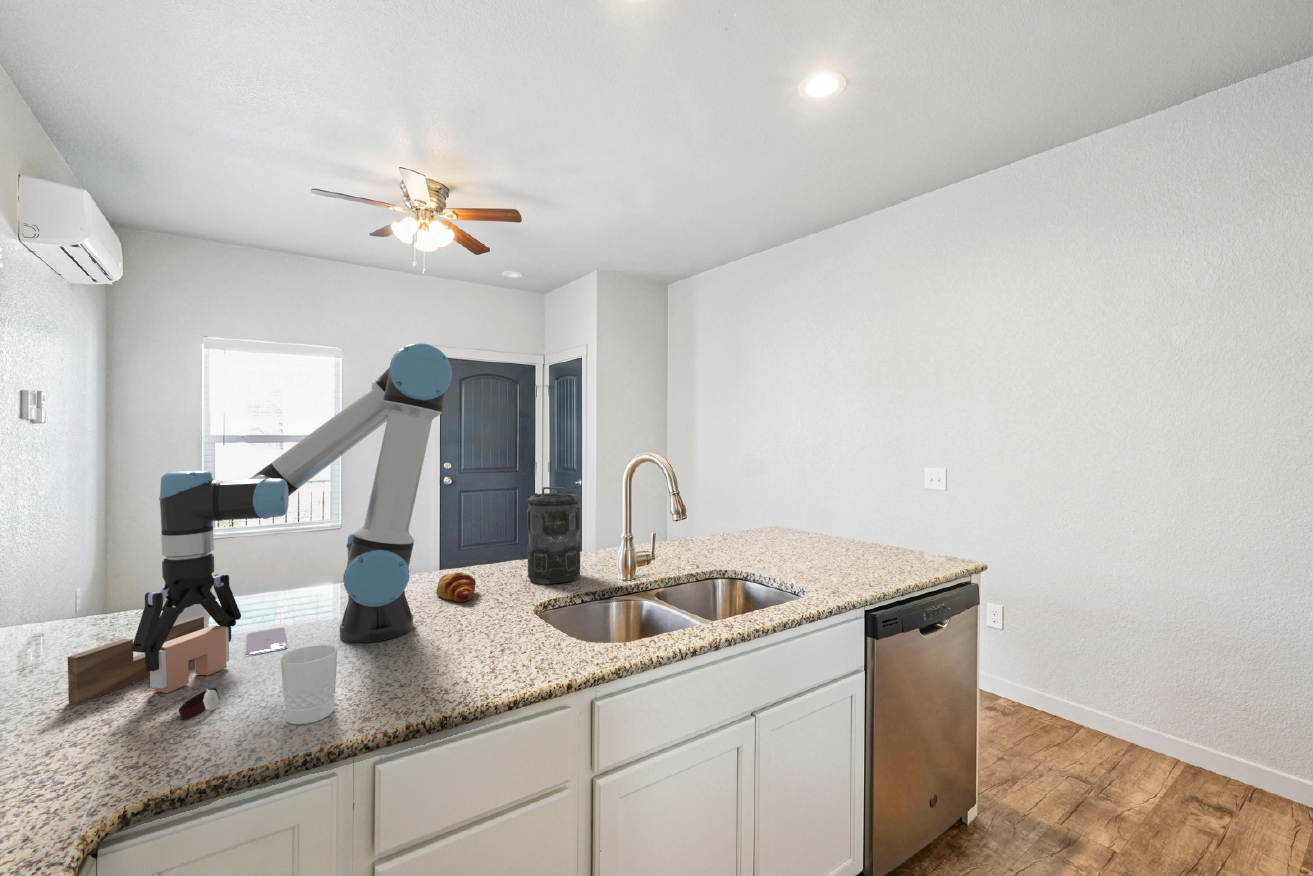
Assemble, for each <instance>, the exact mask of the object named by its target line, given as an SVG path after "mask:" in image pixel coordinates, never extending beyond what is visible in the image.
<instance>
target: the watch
mask: <svg viewBox="0 0 1313 876" xmlns="http://www.w3.org/2000/svg"><path fill="white" fill-rule="evenodd" d="M219 698H220V696H219V691H218V688H217V687H212V688H209V689H208V688H207V689H205V690H204V691H202V692H200V693H198V694H196V695H195V696H193V697H192V698H190V699H188V700H186V701H185V702H184V703H183V704H182V705H181V706H180V707H179V709H178V712H179V716H180V719H181V720H182V721H186V720H190V719H193V718H195V717H197V716H199V715H201V714H202V713H204V712H205V711H214V710H215V709H216V708H217V707H218V705H219Z"/></svg>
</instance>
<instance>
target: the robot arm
mask: <svg viewBox="0 0 1313 876" xmlns="http://www.w3.org/2000/svg"><path fill="white" fill-rule="evenodd" d="M452 379H453V369H452V366H451V363H450V360H449V359H448V357H447V356H446V354H445V353H444V352H442V350H440V349H439V348H438V347H435V346H433V345H431V344H427V343H423V342H422V343H420V342H419V343H411V344H407V345H404V346H403V347H401V348H400V349H399V350H397V351H396V352H395V354H393V357H392V358H391V360H390V365H389V367H388V368H387V369H386V370H385V371H384V372H383V373H382V374H381V375H380V376H379V377H377V378H376V379H374V380H373V381H372V383H371V388H370V389H369V390H367V392H364V394H362V395H360V397H358V398H357V399H355V400H354V401H353V402H351V403H349V405H348V406H345V408H343V409H342V410H341V411H339V412H338V413H337V414H335V415H333V417H331V418H330V419H329V420H327V421H326V422H324V423H323V424H321V426H320V427H318V428H316V429H315V430H313V431H312V432H311V433H310V434H308V435H307V436H306V437H304V438H303V439H301V440H300V441H298V442H297V443H296V444H294V445H293V446H292V447H291V448H289V449H288V450H287V451H285V452H284V453H282V454H281V455H280V456H279V457H277V458H276V459H274V461H272V462H271V463H269V464H268V465H266V466H265V467H264V468H262V469H261V470H259V471H258V472H257V473H255V474H254V475H253V476H251V477H249V478H248V479H235V480H233V479H232V480H216V479H214V478H213V476H212V472H211V471H209V470H181V471H169V472H167V473H164V474H163V475H162V476H161V477H160V489H159V491H160V492H159V494H160V495H159V498H158V500H159V506H160V507H159V508H160V509H159V510H160V524H161V525H160V526H161V528H160V530H161V531H160V532H161V556H163V557H164V558H163V559H162V560H161V569H162V570H161V571H162V574H161V575H162V576H161V577H162V579H163V580H164V585H163V586H164V589H163V590H162V589H161V590H159V591H158V590H157V591H156V592H155V591H154V592H153V591H148V592H146V593H145V594H144V608H143V611H142V615H141V618H140V621H139V623H138V627H137V630H136V633H135V636H134V639H133V645H132V649H131V650H132V651H133V653H142V654H144V653H145V662H146V663H145V664H146V670H147V671H150V677H149V684H150V685H149V688H153V689H154V688H161V689H163V688H165V687H167V676H166V650H160V649H161V648H162V646H163V644H164V642H165V640H166V638H167V636H168V634H169V633H170V631H171V629H172V627H173V625H174V623H175V621H176V619H177V618H178V616H179V614H181V613H182V612H183V611H184V609H185V608H188V607H190V606H192V605H194V604H201V605H202V606H203V608H204V609H205V610H206V611H207V612H208V613H209V615H210V618H212V619H213V621H214V622H215V623H216V624H217V626H225V631H226V663H227V662H229V661H230V642H231V640H232V627H235V626H236V624H237V620H238V621H239V620H240V619H241V618H242V614H241V611H240V608H239V606H238V604H237V600H236V599H235V595H234V593H233V592H232V589H231V586H230V576H229V574H221V573H219V574H218V573H216V574H214V575H213V573H214V572H215V555H214V554H213V553H212V552H213V551H214V549H215V546H214V545H215V538H214V535H215V534H214V522H222V521H234V520H236V521H237V520H253V519H255V520H258V519H263V520H268V519H270V518H279V517H280V518H281V517H283V516H285V515H286V514H287V513H288V508H289V498H290V496H292V494H293V493H295V492H297V490H299V489H300V488H301V487H302V486H304V485H305V484H306V483H308V482H309V481H310V480H312V479H313V478H314V477H316V476H317V475H318V474H319V473H321V472H322V471H323V470H325V469H326V468H328V466H330V465H331V464H333V462H336V460H338V459H340V457H342V456H343V455H344V454H346V453H347V452H348V451H350V450H351V449H352V448H354V447H355V446H356V445H358V444H359V443H360V442H361V441H363V440H364V439H365V438H367V437H368V436H369V435H370V434H372V433H374V432H375V431H376V430H377V429H379V428H380V427H381V426H382V425H384V424H385V423H386V424H385V428H384V431H383V432H384V433H383V437H382V443H381V445H380V446H381V447H380V451H379V454H378V455H379V456H378V461H377V465H376V469H375V470H376V471H375V474H374V478H373V484H372V486H371V487H372V488H371V491H370V492H371V493H370V496H369V502H368V506H367V511H366V516H365V520H364V525H363V526H362V527H360V528H359V529H357V530H356V531H354V532H352V533H350V534H349V535H348V537H347V543H346V548H347V563H346V568H345V570H344V573H343V578H342V580H343V586H344V589H345V591H346V593H347V596H348V600H347V605H346V607H345V610H344V613H343V616H342V620H341V622H340V626H339V637H340V639H341V640H342V641H346V642H350V643H359V644H361V643H363V644H364V643H376V642H381V641H386V640H392V639H394V638H397V637H398V638H399V637H400V636H403V635H405V634H407V633H409V632H410V631H412V630H413V629H414V616H413V614H412V611H411V608H410V606H409V605H410V604H409V602H408V600H407V597H406V591H405V590H406V589H407V586H408V584H409V580H410V569H409V568H410V563H411V558H412V553H413V550H414V549H413V548H414V545H415V538H414V537H413V536H412V534H411V533H410V531H409V530H410V526H411V522H412V517H413V512H414V507H415V502H416V499H417V495H418V488H419V484H420V479H421V475H422V469H423V467H424V466H423V465H424V461H425V457H426V452H427V446H428V442H429V437H430V433H431V428H432V423H433V421H434V419H435V418H438V417H439V416H440V415H442V414H443V413H442V412H443V408H444V405H445V404H444V403H445V398H446V394H447V390H448V388H449V386H450V385H451V382H452ZM211 588H212V589H213V591H214V592H215V594H214V593H213V594H212V592H211V591H210V590H211ZM215 595H216V596H215ZM165 597H166V598H167V601H166V600H165ZM217 599H218V601H219V602H218V601H217ZM165 601H166V603H165V604H164V606H163V602H165ZM173 605H174V606H175V607H172V606H173ZM162 607H163V608H162Z"/></svg>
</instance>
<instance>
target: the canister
mask: <svg viewBox="0 0 1313 876" xmlns="http://www.w3.org/2000/svg"><path fill="white" fill-rule="evenodd" d="M545 490H562V491H557V492H547V493H545ZM566 490H567V489H566V488H565V487H564V486H563V487H562V486H561V487H560V486H544V487H542V489H541V493H537V492H535V493H532V494H529V495H528V496H527V499H526V501H527V502H528V509H527V514H526V516H527V517H526V518H527V519H526V521H527V522H526V523H527V525H526V526H527V532H528V543H527V545H526V546H527V578H528V579H529V580H530V581H531V580H532V581H533V583H534V584H538V585H548V586H549V585H551V584H562V583H568V582H571V583H572V582H574V581H576V580H578V579H579V578H580V576H581V543H580V536H579V534H580V533H579V531H580V530H581V527H580V526H581V525H580V523H581V522H580V519H581V517H580V516H581V515H580V514H581V513H580V511H581V510H580V509H581V508H580V507H579V501H580V499H581V497H580V495H579V494H578V493H576V494H575V493H574V492H572V491H570V492H569V491H566Z"/></svg>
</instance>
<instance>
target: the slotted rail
mask: <svg viewBox="0 0 1313 876" xmlns="http://www.w3.org/2000/svg"><path fill="white" fill-rule="evenodd" d="M201 629H204V616H193V617H190V618H187V619H184V620H181V621H178V622H175V623H174V625H173V627H172V629H171V631H170V633H169V634H168V636H167V638H166V640H165V642H167V641H170V640H173V639H175V638H178V637H181V636H184V635H187V634H190V633H193V632H195V631H198V630H201ZM133 642H134V639H132V638H123V639H122V638H121V639H120V640H116V641H112V642H108V643H106V644H104V645H100V646H97V647H94V648H91V649H87V650H84V651H81V652H78V653H75V654H72V655H69V656H67V682H68V683H67V684H68V685H67V688H68V690H67V691H68V704H69V705H75V706H76V705H77V706H79V705H81V704H84V703H86V702H89V701H92V700H94V699H96V698H99V697H102V696H104V695H106V694H109V693H112V692H114V691H117V690H119V689H122V688H124V687H127V686H129V685H132V684H134V683H133V682H135V683H137V682H139V681H142V680H145V679H147V678H150V671H147V670H146V664H145V663H146V662H145V653H142V654H138V655H136V656H134V652H133V651H132V650H131V649H132V645H133ZM194 660H195V658H194ZM191 661H193V659H192V660H189V661H188V662H191ZM144 678H145V679H144ZM111 691H112V692H111ZM88 700H89V701H88Z"/></svg>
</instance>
